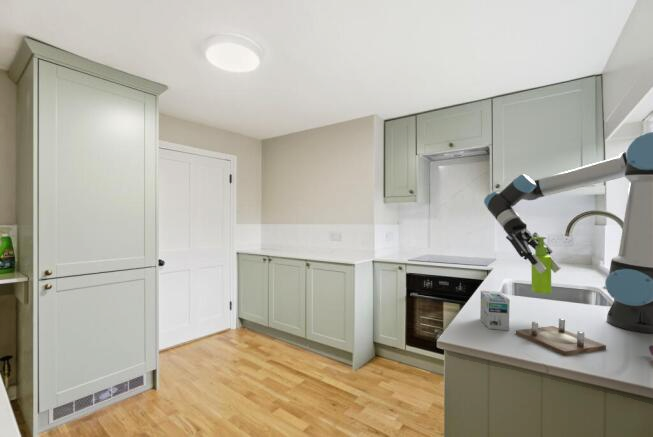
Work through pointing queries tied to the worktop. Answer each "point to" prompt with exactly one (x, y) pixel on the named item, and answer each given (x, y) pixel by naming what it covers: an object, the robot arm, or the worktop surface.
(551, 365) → the worktop surface
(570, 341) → the locator board
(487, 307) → the light bulb box
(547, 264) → the soap dispenser
